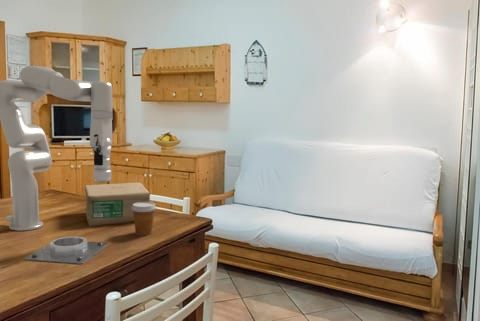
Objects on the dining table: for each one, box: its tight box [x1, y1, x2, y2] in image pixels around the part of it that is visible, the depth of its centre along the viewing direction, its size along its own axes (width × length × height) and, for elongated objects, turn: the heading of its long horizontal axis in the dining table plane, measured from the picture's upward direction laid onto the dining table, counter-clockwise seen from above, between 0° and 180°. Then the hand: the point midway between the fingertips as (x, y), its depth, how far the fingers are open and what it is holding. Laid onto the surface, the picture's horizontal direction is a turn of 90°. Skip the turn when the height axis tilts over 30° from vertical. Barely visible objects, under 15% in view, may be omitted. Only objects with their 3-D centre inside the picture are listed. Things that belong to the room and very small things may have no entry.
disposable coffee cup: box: [132, 201, 157, 236], centre depth 171 cm, size 10×10×12 cm
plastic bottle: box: [92, 138, 113, 184], centre depth 158 cm, size 6×7×20 cm
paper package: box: [84, 182, 151, 227], centre depth 195 cm, size 27×26×14 cm
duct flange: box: [24, 235, 109, 265], centre depth 147 cm, size 20×20×4 cm
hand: (102, 163), depth 159 cm, fingers closed on plastic bottle, 5 cm apart
